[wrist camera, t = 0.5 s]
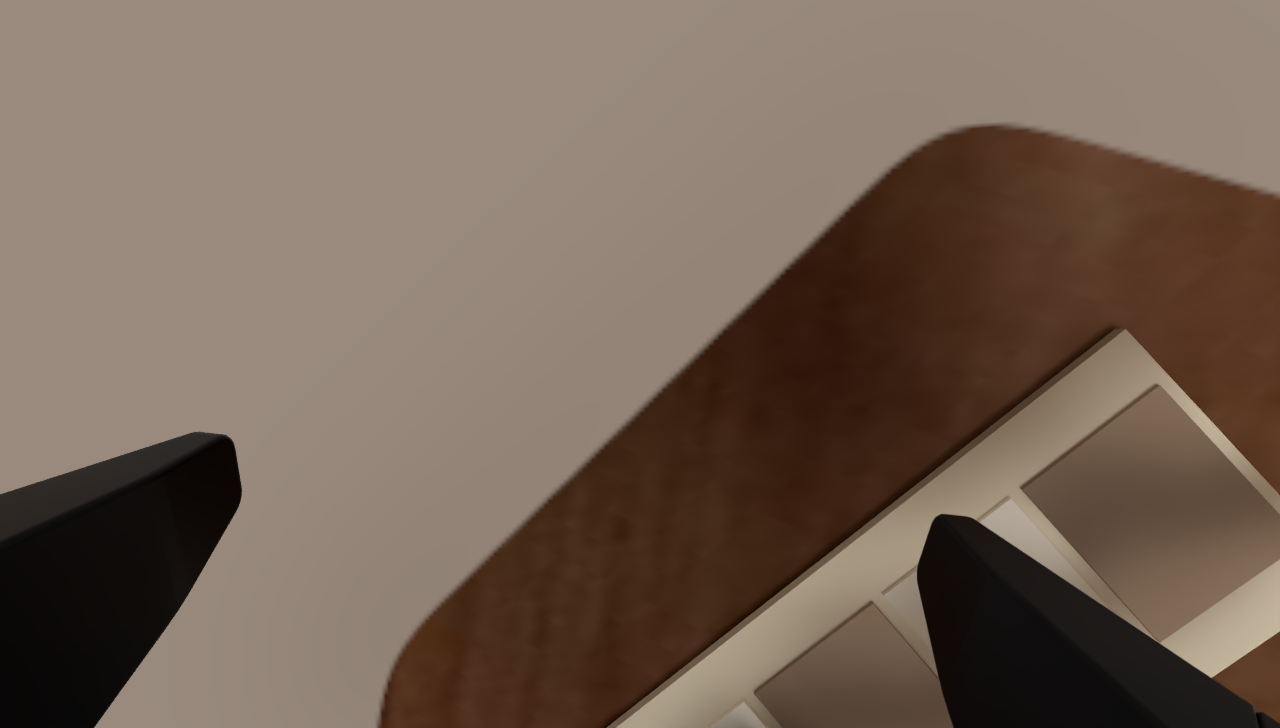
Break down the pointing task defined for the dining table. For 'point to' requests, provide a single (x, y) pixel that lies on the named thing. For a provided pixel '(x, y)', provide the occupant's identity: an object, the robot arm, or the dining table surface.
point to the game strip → (1034, 523)
